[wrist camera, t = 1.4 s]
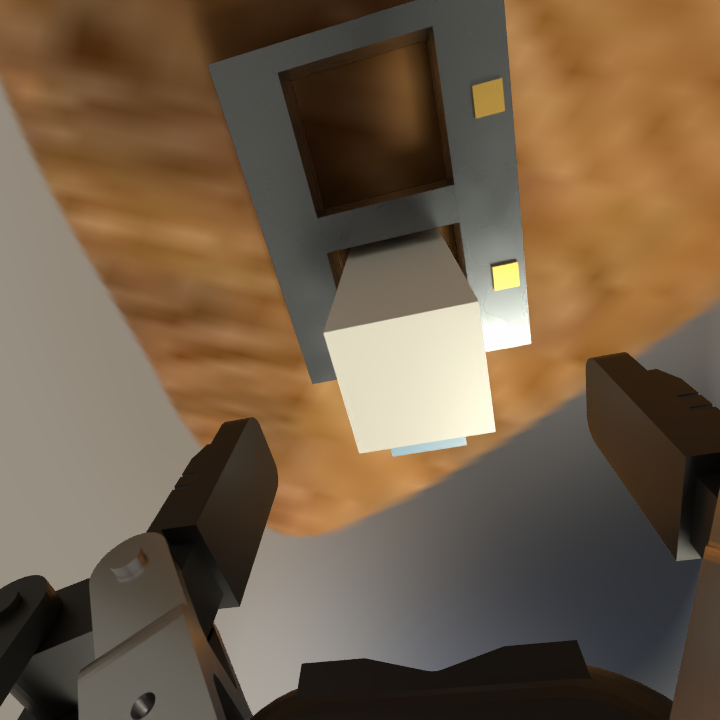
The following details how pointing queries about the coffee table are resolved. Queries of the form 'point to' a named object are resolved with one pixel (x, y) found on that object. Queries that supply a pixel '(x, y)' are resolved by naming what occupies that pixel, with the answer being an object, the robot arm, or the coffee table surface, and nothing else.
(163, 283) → the coffee table surface
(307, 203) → the panel
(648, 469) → the robot arm
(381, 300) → the plug
